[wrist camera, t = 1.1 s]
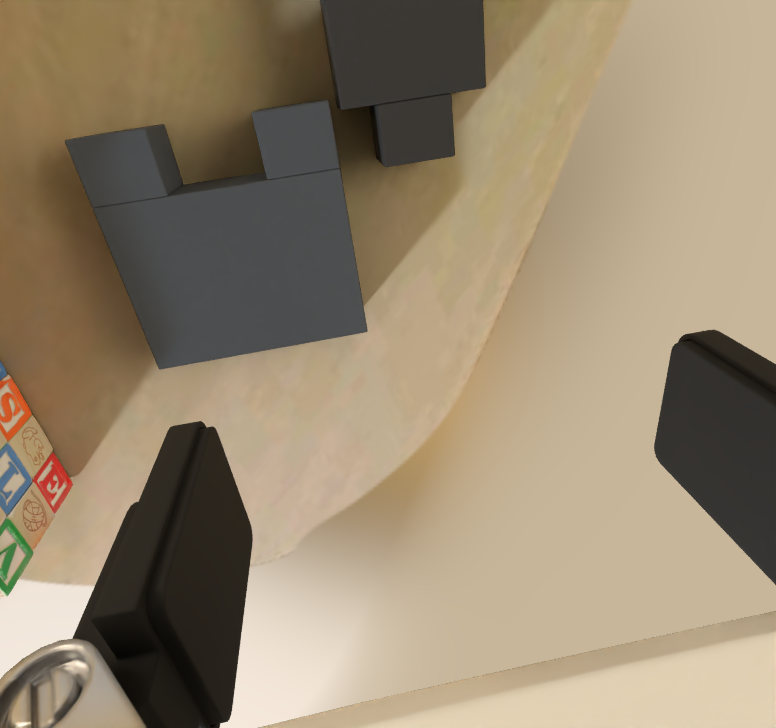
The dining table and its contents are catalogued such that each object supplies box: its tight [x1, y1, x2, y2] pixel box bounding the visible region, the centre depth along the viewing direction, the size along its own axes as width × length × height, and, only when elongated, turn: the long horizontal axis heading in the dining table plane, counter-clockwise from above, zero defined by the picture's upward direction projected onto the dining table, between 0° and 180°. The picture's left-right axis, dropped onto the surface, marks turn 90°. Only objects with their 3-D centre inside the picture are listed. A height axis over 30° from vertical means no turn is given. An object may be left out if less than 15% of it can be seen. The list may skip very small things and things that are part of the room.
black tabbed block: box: [320, 0, 486, 167], centre depth 23 cm, size 13×7×4 cm, turn 8°
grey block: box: [65, 100, 368, 369], centre depth 27 cm, size 12×12×4 cm
